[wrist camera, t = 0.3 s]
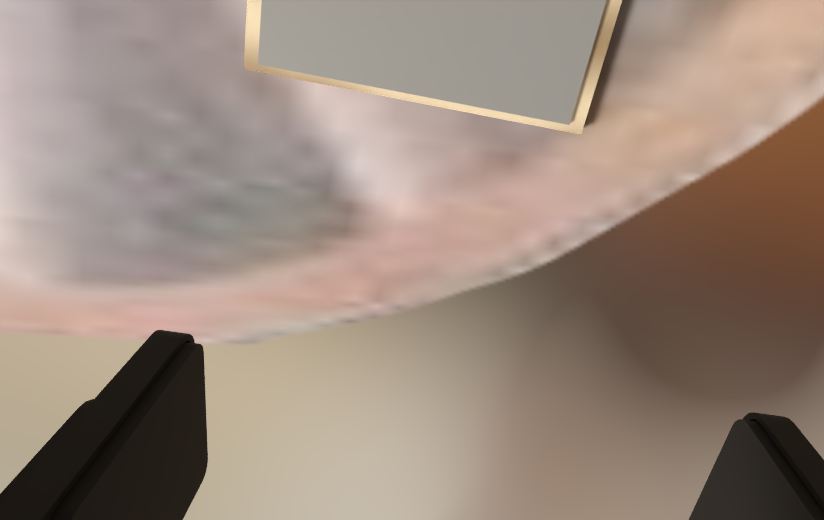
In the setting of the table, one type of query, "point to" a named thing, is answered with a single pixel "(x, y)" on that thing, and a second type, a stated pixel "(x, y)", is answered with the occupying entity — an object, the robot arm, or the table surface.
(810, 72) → the table surface
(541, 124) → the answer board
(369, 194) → the table surface
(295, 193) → the table surface
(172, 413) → the robot arm
